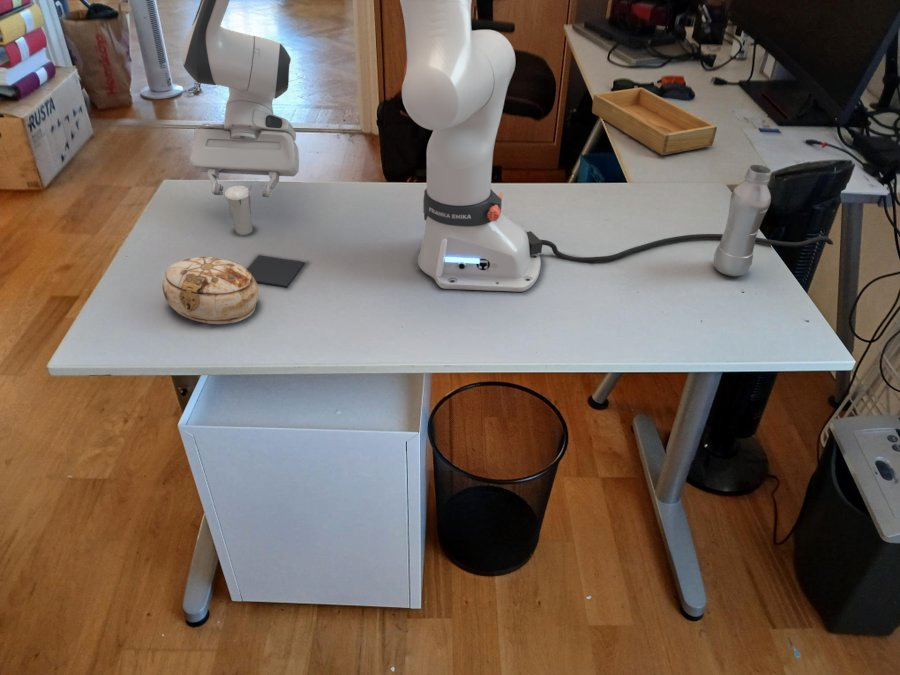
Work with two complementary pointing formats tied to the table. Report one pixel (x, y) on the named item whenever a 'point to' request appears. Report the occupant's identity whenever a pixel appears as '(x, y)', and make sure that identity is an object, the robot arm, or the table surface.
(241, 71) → the robot arm
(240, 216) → the milkshake
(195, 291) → the trinket box
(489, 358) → the table surface
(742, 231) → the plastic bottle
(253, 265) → the mat
